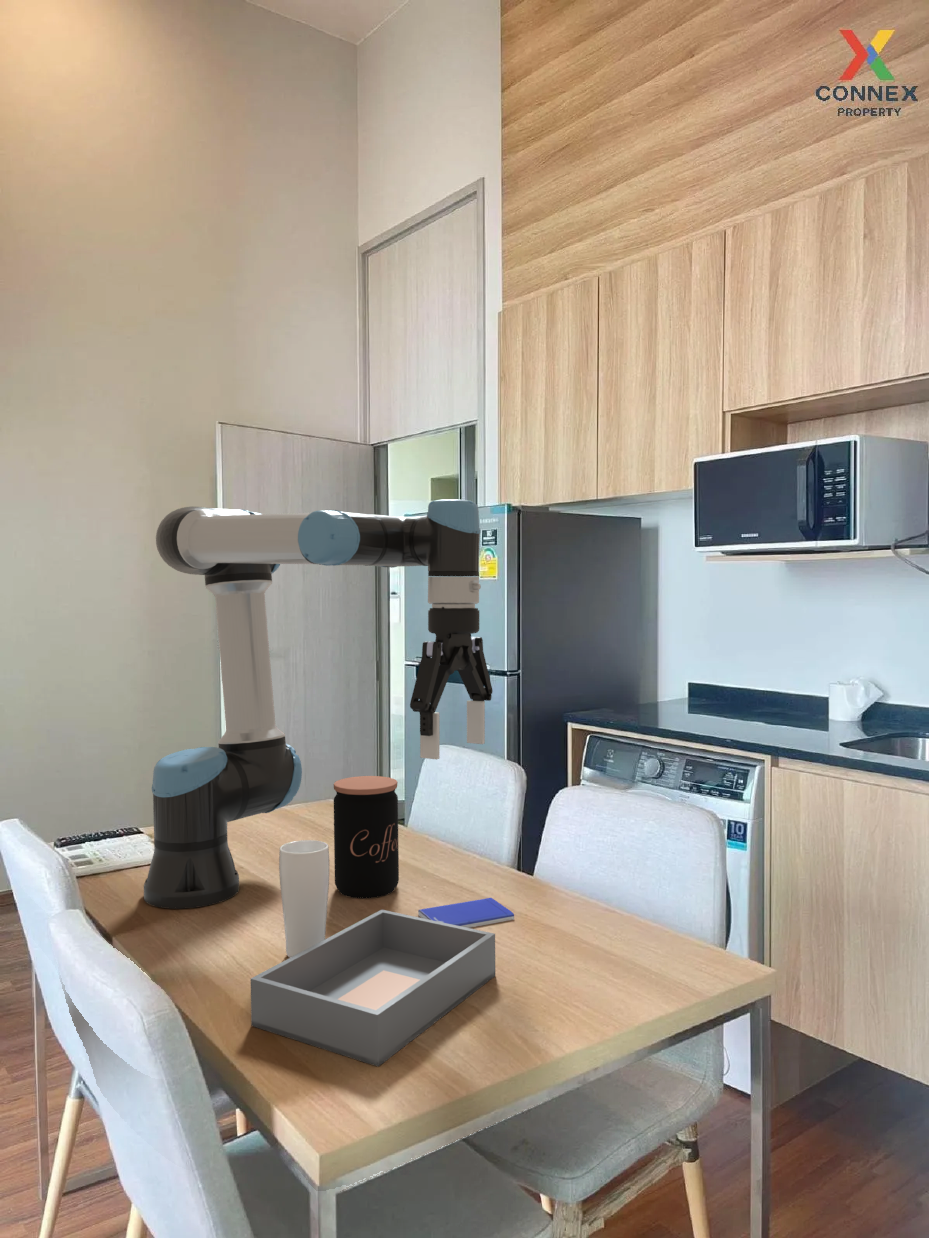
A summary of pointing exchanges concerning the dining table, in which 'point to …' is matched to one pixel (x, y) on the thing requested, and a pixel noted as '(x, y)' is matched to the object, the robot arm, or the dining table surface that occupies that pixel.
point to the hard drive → (469, 913)
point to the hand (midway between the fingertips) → (453, 750)
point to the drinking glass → (304, 893)
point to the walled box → (373, 984)
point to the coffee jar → (366, 836)
